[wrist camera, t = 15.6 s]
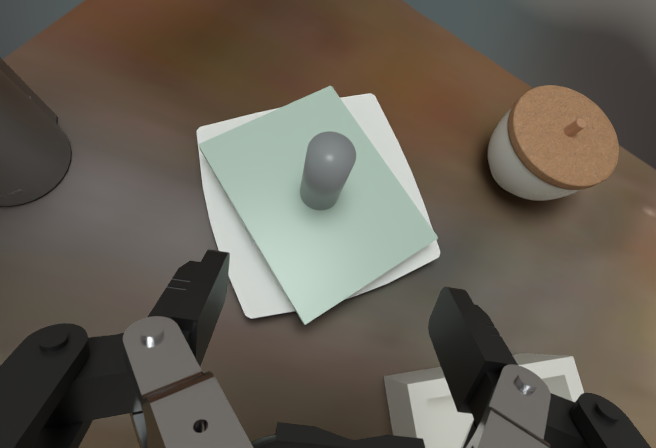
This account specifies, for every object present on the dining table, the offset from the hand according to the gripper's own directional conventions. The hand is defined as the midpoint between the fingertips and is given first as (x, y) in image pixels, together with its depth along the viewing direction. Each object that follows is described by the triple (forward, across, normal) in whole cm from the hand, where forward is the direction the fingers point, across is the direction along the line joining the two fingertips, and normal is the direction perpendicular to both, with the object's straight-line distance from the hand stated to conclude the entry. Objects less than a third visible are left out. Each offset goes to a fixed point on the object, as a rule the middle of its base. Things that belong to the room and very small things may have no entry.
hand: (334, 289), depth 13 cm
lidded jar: (+28, -22, +1) cm, 35 cm away
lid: (+20, 0, +5) cm, 21 cm away
